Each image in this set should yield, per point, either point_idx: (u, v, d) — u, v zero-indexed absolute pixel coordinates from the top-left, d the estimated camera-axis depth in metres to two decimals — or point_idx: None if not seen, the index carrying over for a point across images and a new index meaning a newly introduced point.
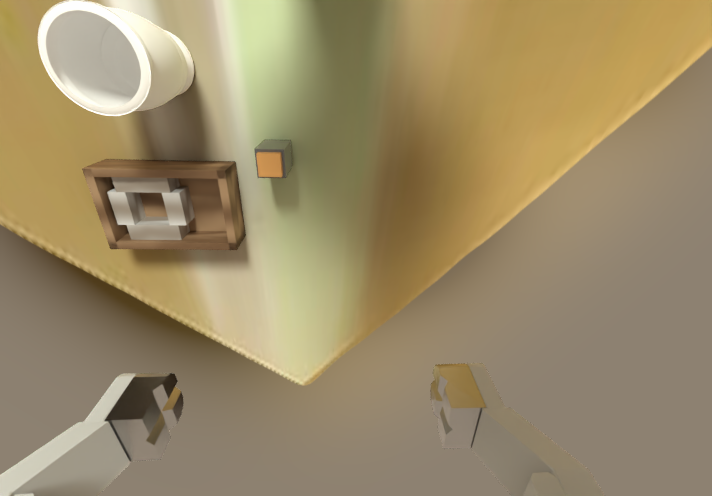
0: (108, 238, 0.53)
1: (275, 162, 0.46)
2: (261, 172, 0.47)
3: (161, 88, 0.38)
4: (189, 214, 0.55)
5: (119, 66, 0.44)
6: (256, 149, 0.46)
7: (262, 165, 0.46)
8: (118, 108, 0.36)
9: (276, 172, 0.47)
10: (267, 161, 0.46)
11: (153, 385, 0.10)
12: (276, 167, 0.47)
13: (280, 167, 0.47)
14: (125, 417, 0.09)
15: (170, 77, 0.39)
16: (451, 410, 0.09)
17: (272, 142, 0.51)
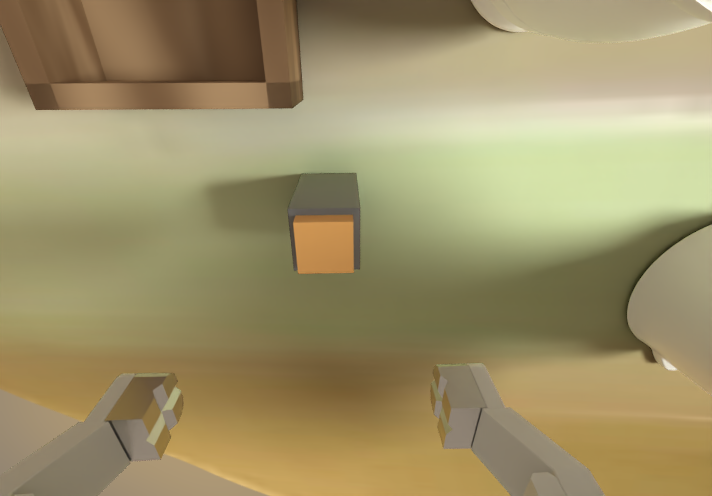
0: None
1: (333, 262, 0.19)
2: (305, 229, 0.18)
3: (601, 5, 0.11)
4: None
5: None
6: (358, 211, 0.19)
7: (323, 233, 0.18)
8: None
9: (308, 263, 0.19)
10: (334, 245, 0.19)
11: (153, 385, 0.10)
12: (321, 263, 0.19)
13: (321, 270, 0.19)
14: (125, 417, 0.09)
15: (599, 33, 0.12)
16: (451, 410, 0.09)
17: None
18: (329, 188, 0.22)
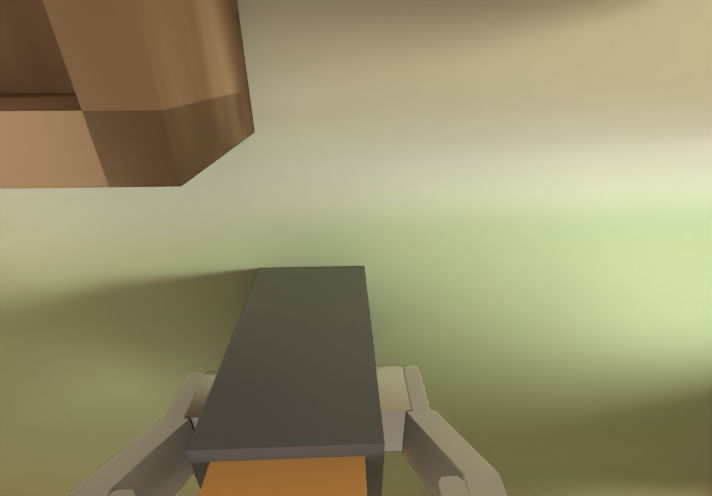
0: None
1: None
2: None
3: None
4: None
5: None
6: None
7: None
8: None
9: None
10: None
11: None
12: None
13: None
14: None
15: None
16: None
17: None
18: (308, 330, 0.10)
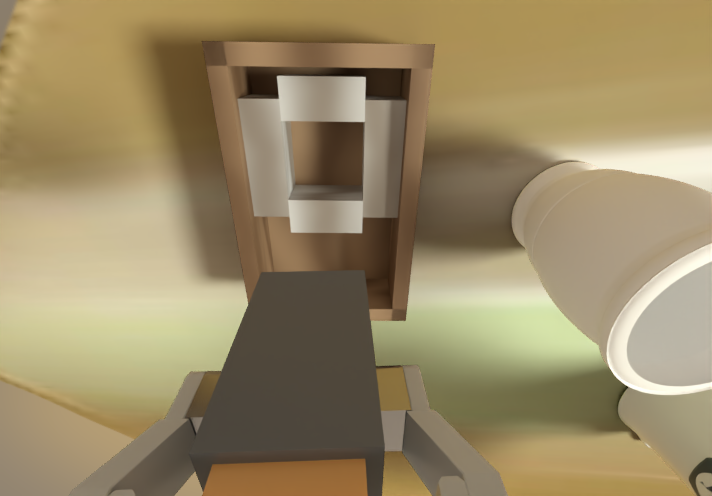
0: (236, 47, 0.19)
1: None
2: None
3: None
4: None
5: None
6: (379, 448, 0.07)
7: None
8: (623, 340, 0.17)
9: None
10: None
11: None
12: None
13: None
14: None
15: None
16: None
17: None
18: (308, 334, 0.10)
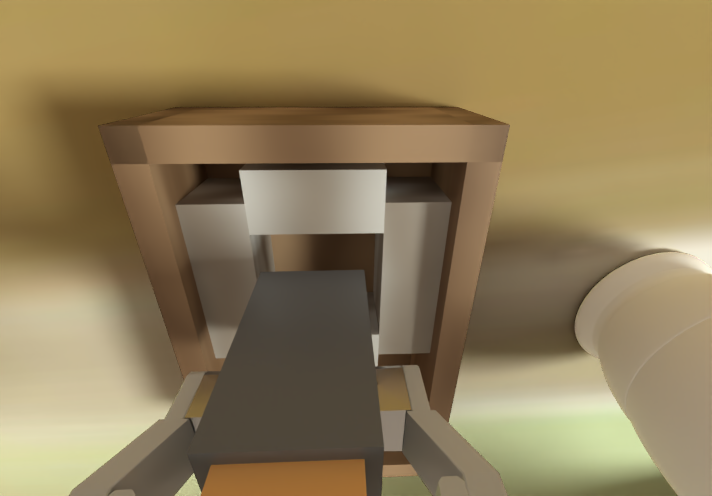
0: (161, 134, 0.11)
1: None
2: None
3: None
4: None
5: None
6: (379, 449, 0.07)
7: None
8: None
9: None
10: None
11: None
12: None
13: None
14: None
15: None
16: None
17: None
18: (308, 334, 0.10)
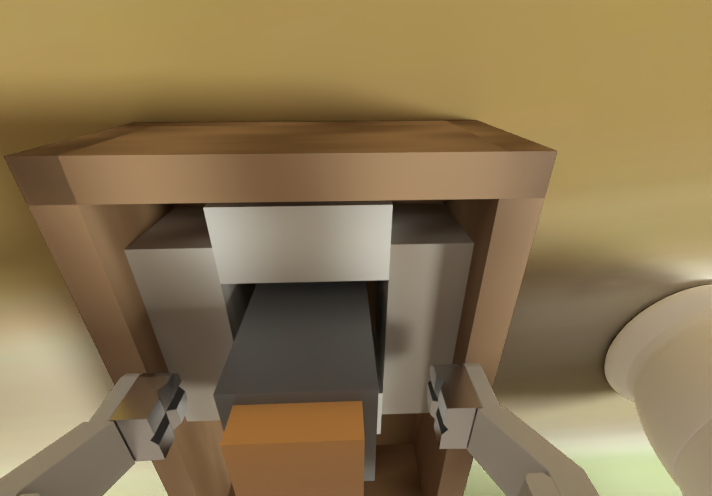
0: (91, 166, 0.08)
1: None
2: (251, 455, 0.08)
3: None
4: None
5: None
6: None
7: (295, 460, 0.08)
8: None
9: None
10: (321, 477, 0.08)
11: (157, 385, 0.10)
12: None
13: None
14: (130, 417, 0.09)
15: None
16: (447, 410, 0.09)
17: None
18: (312, 304, 0.11)
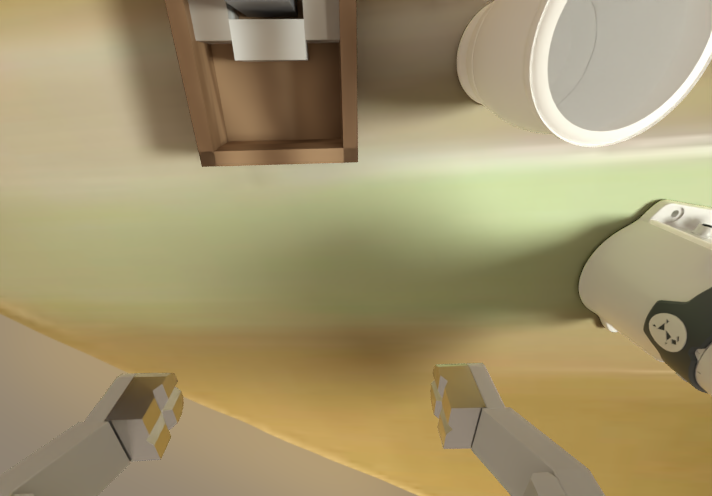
0: None
1: None
2: None
3: (529, 124, 0.22)
4: None
5: None
6: None
7: None
8: (543, 67, 0.18)
9: None
10: None
11: (153, 385, 0.10)
12: None
13: None
14: (125, 417, 0.09)
15: (532, 131, 0.24)
16: (451, 410, 0.09)
17: None
18: None
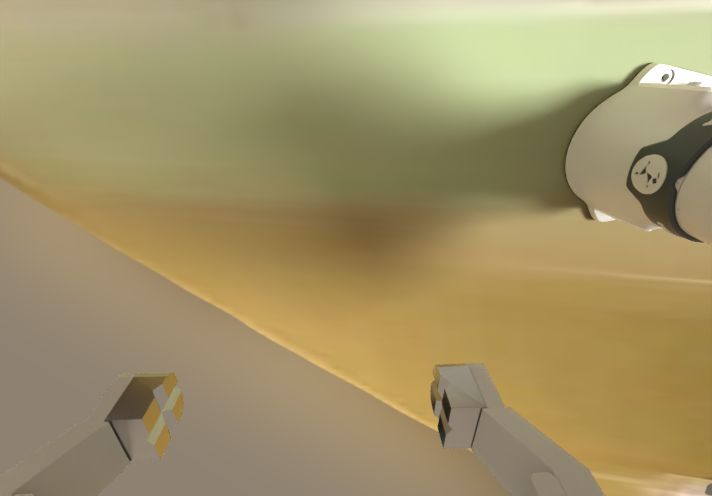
0: None
1: None
2: None
3: None
4: None
5: None
6: None
7: None
8: None
9: None
10: None
11: (153, 385, 0.10)
12: None
13: None
14: (125, 417, 0.09)
15: None
16: (451, 410, 0.09)
17: None
18: None
